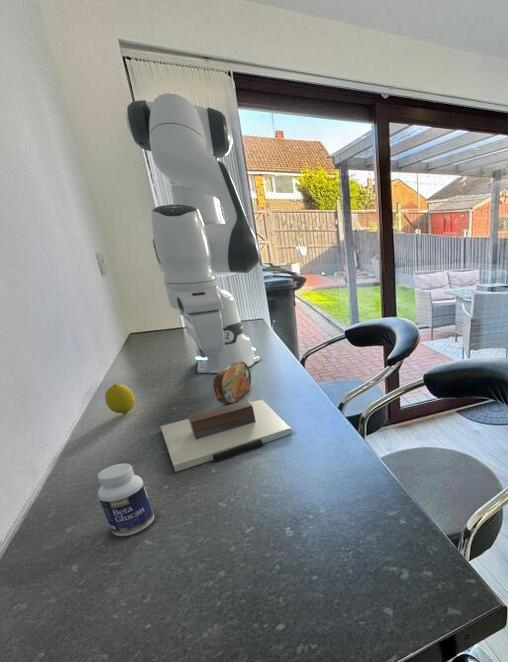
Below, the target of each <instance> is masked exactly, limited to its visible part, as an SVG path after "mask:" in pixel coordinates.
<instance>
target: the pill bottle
mask: <svg viewBox="0 0 508 662" xmlns="http://www.w3.org/2000/svg"><path fill="white" fill-rule="evenodd" d="M97 479H98V483H99V485H100V487H99V489H98V490H97V491H98V492H97V497H98V500H99V503H100V506H101V508H102V510H103V513H104V516H105V518H106V521H107V523H108V526H109V528H110V530H111V531H110V532H112V534H113V535H114V536H117V537H128V536H132V535H134V534H138V533H139V532H141V531H143V530H145V529H147V528H148V527H149V526H150V525H151V524H152V523H153V521H154V519H155V514H154V510H153V507H152V504H151V502H150V499H149V495H148V492H147V489H146V487H145V484H144V481H143V479H142V477H140V476H139V475H137V474H135V472H134V469H133V466H132V465H131V464H130V463H125V462H124V463H116V464H113V465H110V466H108V467H105V468H103V469H102V470H101V471H100V472H98V474H97Z"/></svg>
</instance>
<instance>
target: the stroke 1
mask: <svg viewBox="0 0 508 662" xmlns="http://www.w3.org/2000/svg"><path fill="white" fill-rule="evenodd" d="M229 458H232V456H231V453H230V451H229V450H227V451H223V452H220V453H217V454H214V455H213V459H214V460H213V461H214V463H217V462H219V461H223V460H225V459H229Z"/></svg>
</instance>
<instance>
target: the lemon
mask: <svg viewBox="0 0 508 662" xmlns="http://www.w3.org/2000/svg"><path fill="white" fill-rule="evenodd" d="M104 396H105V397H104V400H105V403H106V407H108V408H109V410H110V411H112V412H113V413H117V414H122V415H127V414H128V413H129V412H130V411H131V410H132V409H133V408H134V406H135V404H136V397H135V395H134V392H133V391H132V389H131V388H129V387H128V386H126V385H124V384H118V383H114V384H113V385H111V386H110V387H109V388H108V389H107V390H106V392H105V395H104Z"/></svg>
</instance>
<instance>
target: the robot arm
mask: <svg viewBox="0 0 508 662" xmlns="http://www.w3.org/2000/svg"><path fill="white" fill-rule="evenodd" d="M125 120H126V121H125V122H126V126H127V129H128V132H129V133H130V135H131V137H132V139H133V141H134V143H135V144H136V145H138V146H139V148H141V149H142V150H145V151H148V152H151V156H152V160H153V162H154V164H155V166H156V167H157V169H158V170H159V171H160V172H161V173H162V175H164V176H165V177H166V178H167V179H168V180H169V185H170V189H171V195H172V199H173V203H174V204H165V205H163V204H162V205H158V206H156V207H154V208H153V209H151V213H150V215H151V227H152V235H153V238H152V244H153V248H154V252H155V256H156V260H157V264H158V267H159V269H160V271H161V272H162V273H163V283H164V287H165V292H166V294H167V298H168V303H169V306H170V308H171V309H177V310H178V311H179V315H180V316H182V317H183V321H184V325H185V329H186V331H187V333H188V334H189V336H190V337H191V338H192V339H193V341H194V343H195V345H196V348H195V350H196V355H197V356H195V360H197V368H196V369H197V373H198V374H207V373H209V374H218V373H219V372H220V371H222V370H223V369H225V368H226V367H227V366H229V365H230V364H232V363H237V362H244V363H246V365H247V366H248V368H249V367H251V366H253V365H254V364H255V363H257V362H259V361H261V358H260V356H258V355H255V353H254V351H256V348H255V347H253V346H252V342H251V338H250V337H249V336H248V335H246V334H245V333H244V326H243V323H242V321H241V320H240V315H239V310H238V306H237V305H238V304H237V301H236V298H235V297H234V295H232V294H231V293H230V292H228V291H227V290H224V289H221V288H220V287H219V284H218V283H219V282H218V280H217V279H218V278H220V277H221V278H222V277H229V276H233V275H236V274H248V273H250V272H251V271H252V270H253V269H255V268H256V266H257V265H259V263H260V258H261V252H260V251H261V250H260V245H259V242H258V239H257V237H256V235H255V234H254V232H253V230H252V228H251V225H250V223H249V221H248V219H247V217H246V216H247V215H246V213H245V210H244V208H243V205H242V202H241V200H240V197H239V193H238V191H237V188H236V185H235V183H234V181H233V178H232V176H231V174H230V172H229V170H228V168H227V166H226V165H225V163H224V162H222V161H220V160H219V159H222V158H224V157H226V156H227V155H229V153H230V152H231V148H232V145H233V133H232V129H231V126H230V124H229V122H228V120H227V118H226V116H225V114H223V112H222V111H220V110H217V109H215V108H212V107H208V106H207V107H204V106H203V107H202V106H198V105H195V104H192V102H191V101H189V100H188V99H187V98H185V97H183V96H181V95H179V94H175V93H170V92H168V93H162V94H160V95H158V96H156V97H155V98H154V99H153V101H147V100H145V99H144V100H143V99H142V100H141V99H140V100H133V101H131V102H130V103H129V104H128V105H127V108H126V115H125ZM220 206H221V207H220ZM221 209H222V211H223V214H224V216H225V219H226V222H225V221H224V218H223V215H222V211H221Z"/></svg>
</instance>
